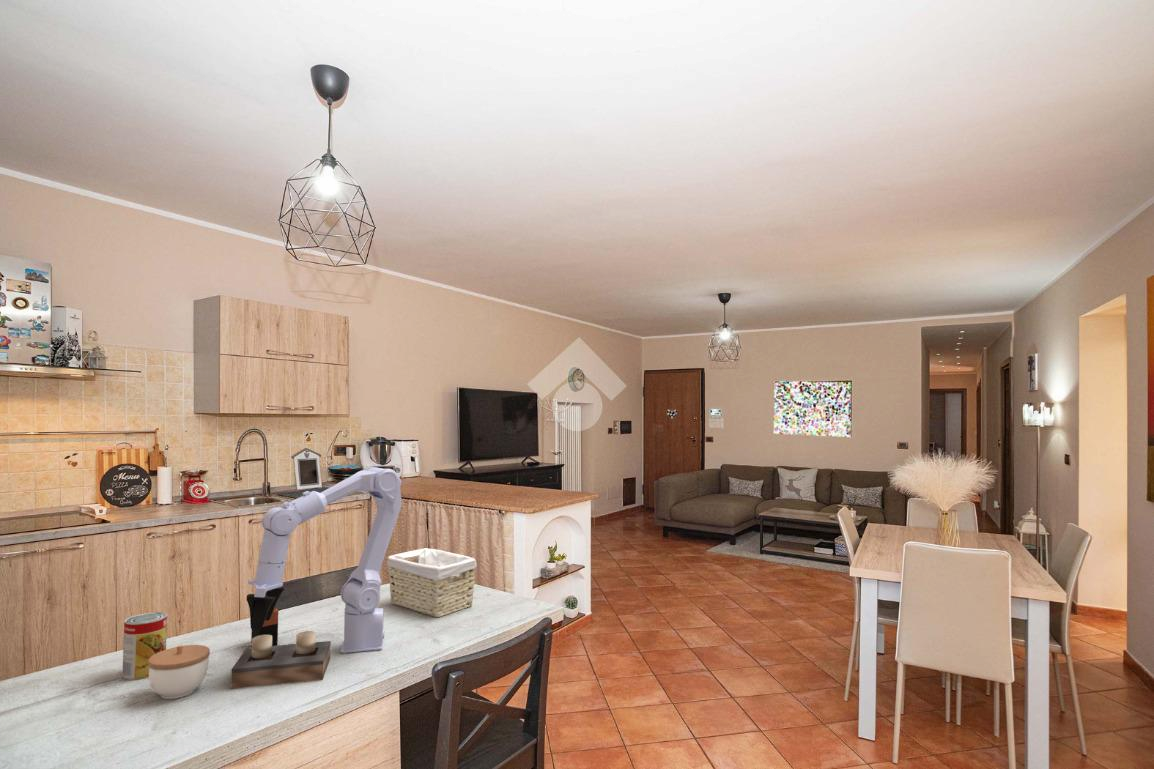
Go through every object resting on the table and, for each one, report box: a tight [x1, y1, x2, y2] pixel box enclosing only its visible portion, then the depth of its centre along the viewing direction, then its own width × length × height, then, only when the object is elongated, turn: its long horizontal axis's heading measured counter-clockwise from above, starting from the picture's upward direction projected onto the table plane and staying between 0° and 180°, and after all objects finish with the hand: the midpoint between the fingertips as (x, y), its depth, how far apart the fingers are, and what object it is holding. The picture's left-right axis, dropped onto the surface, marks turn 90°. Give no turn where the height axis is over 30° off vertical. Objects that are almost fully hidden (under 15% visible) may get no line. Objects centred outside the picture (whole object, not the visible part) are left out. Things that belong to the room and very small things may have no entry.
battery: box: [250, 607, 279, 646], centre depth 153 cm, size 4×7×10 cm, turn 44°
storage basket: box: [386, 547, 477, 618], centre depth 185 cm, size 24×16×15 cm
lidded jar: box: [148, 644, 211, 700], centre depth 127 cm, size 11×11×9 cm
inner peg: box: [295, 630, 317, 654], centre depth 138 cm, size 4×4×4 cm
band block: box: [230, 640, 332, 690], centre depth 137 cm, size 18×12×4 cm, turn 105°
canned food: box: [121, 611, 168, 681], centre depth 137 cm, size 8×8×12 cm
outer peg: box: [251, 635, 272, 658], centre depth 136 cm, size 4×4×4 cm
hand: (260, 624), depth 137 cm, fingers open, 7 cm apart
